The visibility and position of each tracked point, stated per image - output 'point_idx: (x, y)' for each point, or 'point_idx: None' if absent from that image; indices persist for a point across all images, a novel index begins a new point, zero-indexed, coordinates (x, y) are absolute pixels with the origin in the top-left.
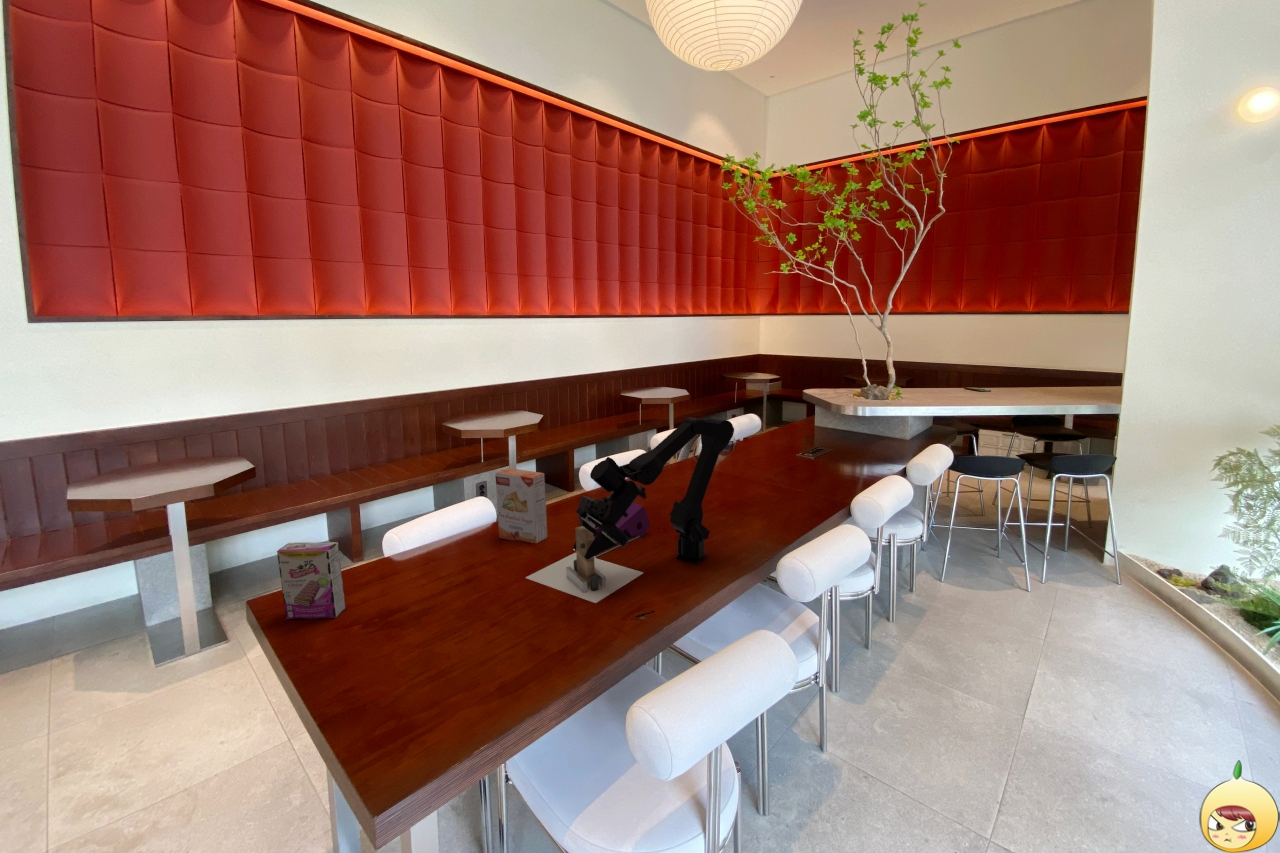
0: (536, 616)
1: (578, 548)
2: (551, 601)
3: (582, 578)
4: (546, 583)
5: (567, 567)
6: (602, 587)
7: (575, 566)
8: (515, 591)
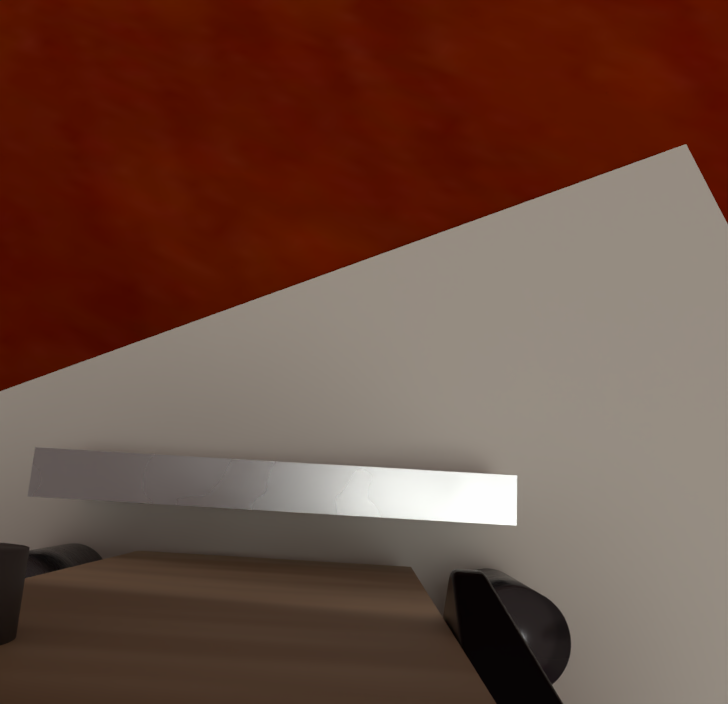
0: (64, 18)
1: (325, 621)
2: (200, 196)
3: (131, 495)
4: (462, 252)
5: (502, 486)
6: None
7: None
8: (533, 37)
